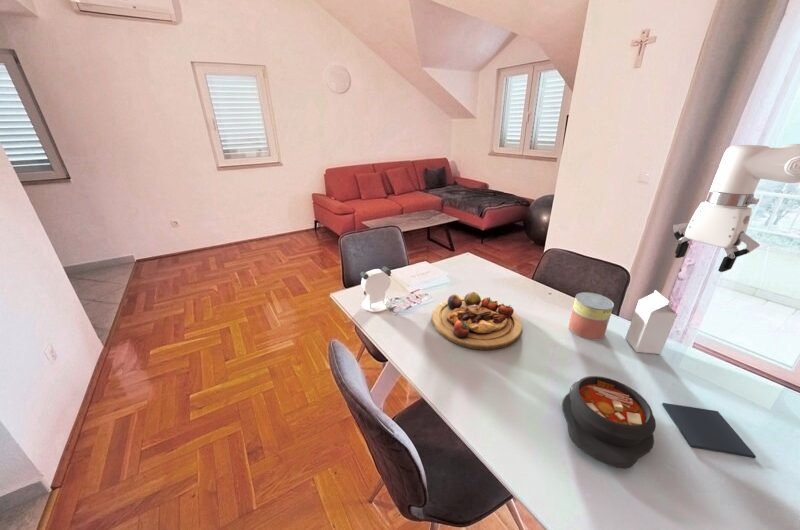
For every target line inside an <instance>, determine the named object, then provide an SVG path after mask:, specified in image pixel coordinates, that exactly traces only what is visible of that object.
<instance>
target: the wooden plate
mask: <svg viewBox="0 0 800 530" xmlns="http://www.w3.org/2000/svg"><path fill="white" fill-rule="evenodd" d="M431 323H432V326H433V327H434V330H436V332H437V333H438V334H439V335H440V336H442V337H443V338H445V339H446V340H448V341H449V342H451V343H453V344H456V345H458V346H461V347H465V348H469V349H475V350H497V349H502V348H505V347H508V346H510V345H512V344H513V343H516V342H517V340H518V339H520V337H521V335H522V333H523V322H522V319H521V318H520V316H519V315H518V314H517V313H516V312H515V311H514V308H513V306H512V305H511V304H509V305H505V304H504V303H501V302H499V301H498V300H493V299H491V297H481V296H480V295H479V294H478V293H477V292H475V291H472V292H468V293H467V294H466V295H465V296H460V295H459V294H456V293H454V294H451V295H450V296H449V297H448V298H447V299H446V300H443V301H442V302H440V303H438V305H436V306H435V308H434V309H433V311H432V313H431Z"/></svg>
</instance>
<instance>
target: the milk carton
mask: <svg viewBox="0 0 800 530" xmlns="http://www.w3.org/2000/svg"><path fill="white" fill-rule="evenodd" d="M671 305H673V302H672V301H671V300H670V299H669V298H666V297H665V296H664V295H662V294H661V292H659V291H658V290H656V289H654V291H653V293H650V294H649V295H648V294H647V295H646V296H644V297H642V298H640V299H638V302H637V304H636V306H635V310H634V311H633V312H634V313H633V316H632V318H631V321H630V324H629V327H628V329H627V333H626V335H625V338H624V339H625V340H626V341H627V343H628V344H629V345H630V347H632V349H633V350H634V352H636V353H644V354H645V353H646V354H652V355H653V354H654V355H661V354H662V352H663V351H664V350H663V349H664V347H665V345H666V343H667V340H668V338H669V337H670V336H669V335H670V332H671V331H672V329H673V326H674V324H675V322H676V319H677V317H678V313H677V312H676V311H675V310H674V308H672V306H671Z"/></svg>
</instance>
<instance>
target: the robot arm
mask: <svg viewBox="0 0 800 530" xmlns="http://www.w3.org/2000/svg"><path fill="white" fill-rule="evenodd" d="M760 180H768V181H772V182H778V183H785V184H796V183H800V143H790V144H785V145H781V146H778V147H770V146H768V145H759V144H758V145H757V144H735V145H731V146H729V147H728V148H726V150H725V152H724V154H723V156H722V158H721V161H720V163H719V166H718V169H717V171H716V174H715V176H714V179H713V181H712V184H711V186H710V189H709V191H708V194H707V195H706V198H705V200H704V201H701V202H700V204H699V206H698V207H697V208H696V209H695V211H694V213H693V215H692V216H691V219H690V220H689V222H682V223H677V224H673V225H672V230H673V233H674V234H673V236H674V237H675V239H676V243H677V247H676V249H675V251H674V254H675V255H674V258H676V259H681V258H684V257H685V256H686V253H687V251H688V248H689V246H690V243H689V242H691V241H694V242H698V243H702V244H705V245H709V246H713V247H716V248H720V249H721V248H722V249H724V251H725V253H726V256H724V257H723V259H722V261H721V263H720V265H719V267H718V270H717V271H718V272H720V273H724V272H727V271H729V270H731V269H732V268H733V267H734V264H735V262H736V260H737V258H738V257H741V256H744V255H749V254H751V252H753V251H755V250H756V249H758V248H759V247H760V243H759V242H757V241H756V240H755V239H753V238H752V237H751V236H749V235H748V234H747V230H748V227H749V224H750V221H751V216H752V212H753V208H752V207H750V205H755V206H756V205H758V204H759V202H760V198H756V197H755V191H756V190H757V187H758V185H759V183H760ZM684 228H685V233H683V231H682V230H683V229H684ZM742 243H744V244H745V246H744V248H743V249H739V248H738V247H739V246H740V245H742Z"/></svg>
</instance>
